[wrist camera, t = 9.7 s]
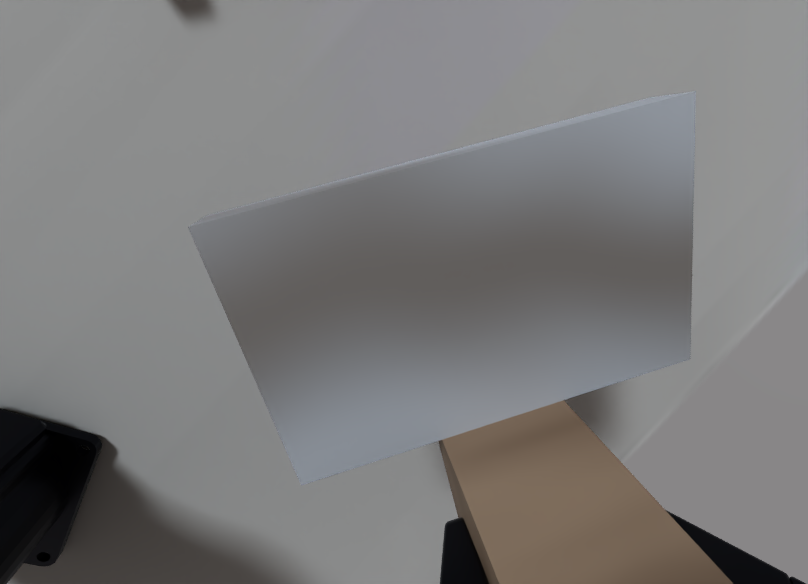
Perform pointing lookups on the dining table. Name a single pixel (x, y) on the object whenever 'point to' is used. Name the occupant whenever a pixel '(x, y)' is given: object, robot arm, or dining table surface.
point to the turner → (484, 328)
